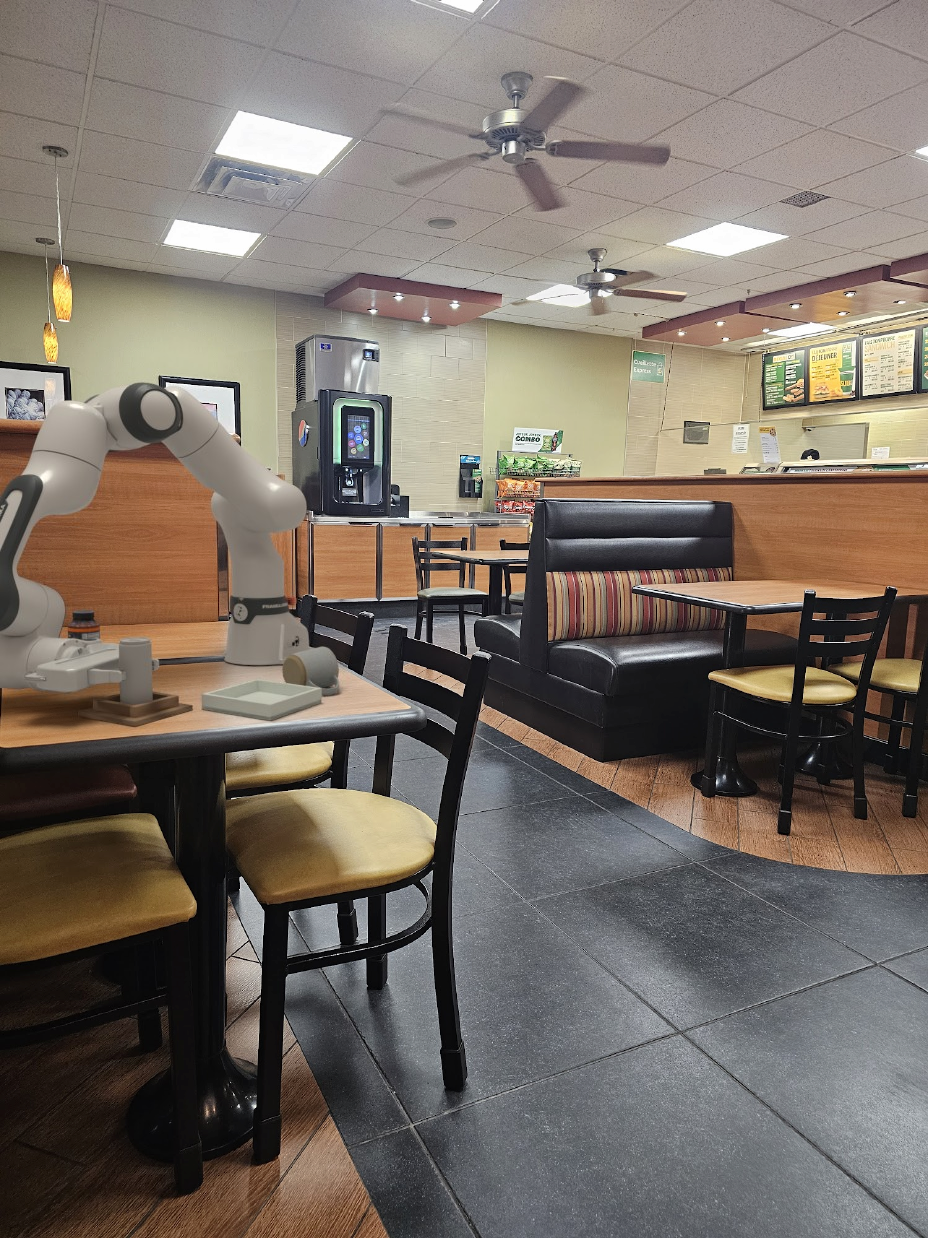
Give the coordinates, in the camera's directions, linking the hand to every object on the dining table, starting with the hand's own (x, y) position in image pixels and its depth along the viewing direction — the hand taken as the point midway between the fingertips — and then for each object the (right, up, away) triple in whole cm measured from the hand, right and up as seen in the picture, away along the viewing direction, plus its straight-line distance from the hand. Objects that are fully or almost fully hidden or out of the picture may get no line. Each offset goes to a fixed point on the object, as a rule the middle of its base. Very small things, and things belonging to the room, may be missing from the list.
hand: (140, 670), depth 126 cm
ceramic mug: (+24, -5, +21) cm, 32 cm away
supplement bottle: (-26, -2, +36) cm, 45 cm away
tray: (+18, -7, +8) cm, 20 cm away
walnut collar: (-1, -7, +1) cm, 7 cm away
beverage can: (-1, -7, +1) cm, 7 cm away
